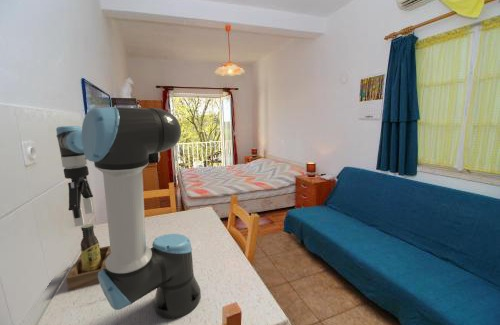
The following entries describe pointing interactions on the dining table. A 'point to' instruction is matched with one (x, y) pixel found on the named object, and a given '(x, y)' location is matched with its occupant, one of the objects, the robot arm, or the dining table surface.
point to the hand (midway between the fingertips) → (84, 219)
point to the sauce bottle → (90, 249)
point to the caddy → (82, 279)
